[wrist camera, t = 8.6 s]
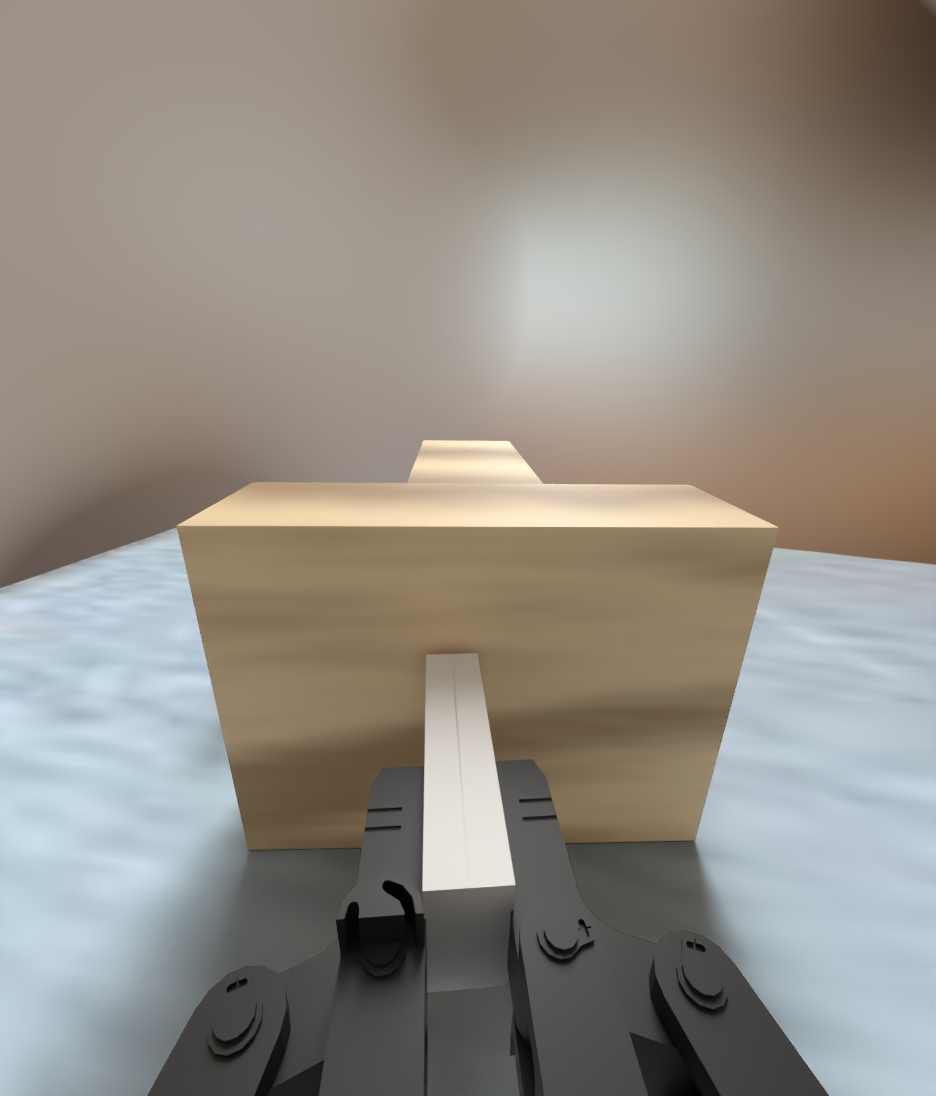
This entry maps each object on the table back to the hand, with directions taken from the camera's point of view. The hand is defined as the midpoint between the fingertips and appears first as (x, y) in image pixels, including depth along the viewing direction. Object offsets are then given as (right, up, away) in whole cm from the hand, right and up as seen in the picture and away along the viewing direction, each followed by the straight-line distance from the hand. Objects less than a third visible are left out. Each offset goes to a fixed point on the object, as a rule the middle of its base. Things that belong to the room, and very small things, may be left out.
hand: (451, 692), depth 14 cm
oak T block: (+1, -3, +10) cm, 11 cm away
